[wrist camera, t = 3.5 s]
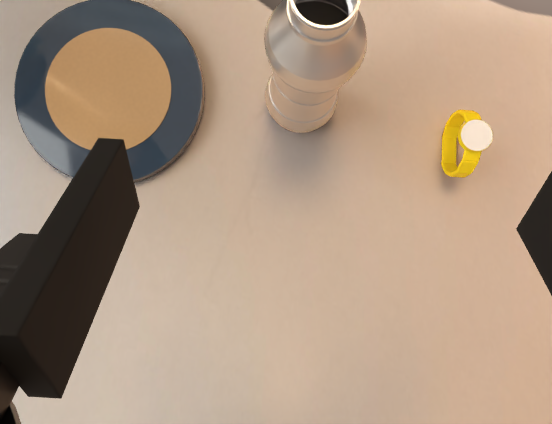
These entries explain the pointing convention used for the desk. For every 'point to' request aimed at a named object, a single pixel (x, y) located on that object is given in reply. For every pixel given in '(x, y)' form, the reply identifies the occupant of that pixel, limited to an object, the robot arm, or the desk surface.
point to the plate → (109, 86)
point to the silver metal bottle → (311, 59)
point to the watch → (464, 142)
